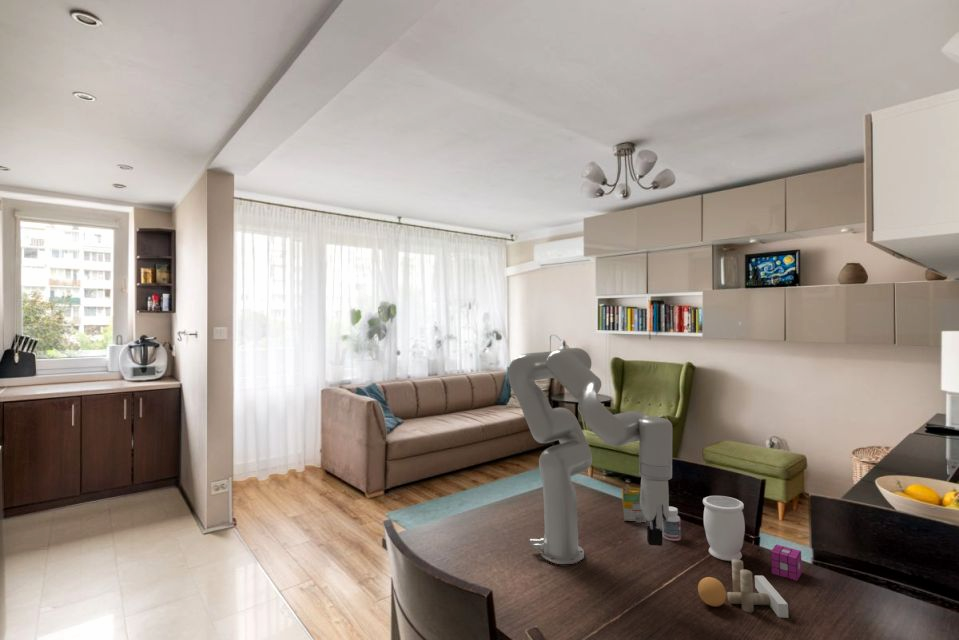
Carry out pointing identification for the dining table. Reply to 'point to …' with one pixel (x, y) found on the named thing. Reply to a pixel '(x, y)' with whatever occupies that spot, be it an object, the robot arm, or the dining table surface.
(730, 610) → the dining table surface
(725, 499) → the jar
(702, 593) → the ball
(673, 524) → the pill bottle
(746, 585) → the pin
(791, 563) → the puzzle toy
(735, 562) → the pin
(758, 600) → the pin front
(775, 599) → the back rail
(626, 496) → the crayon box
